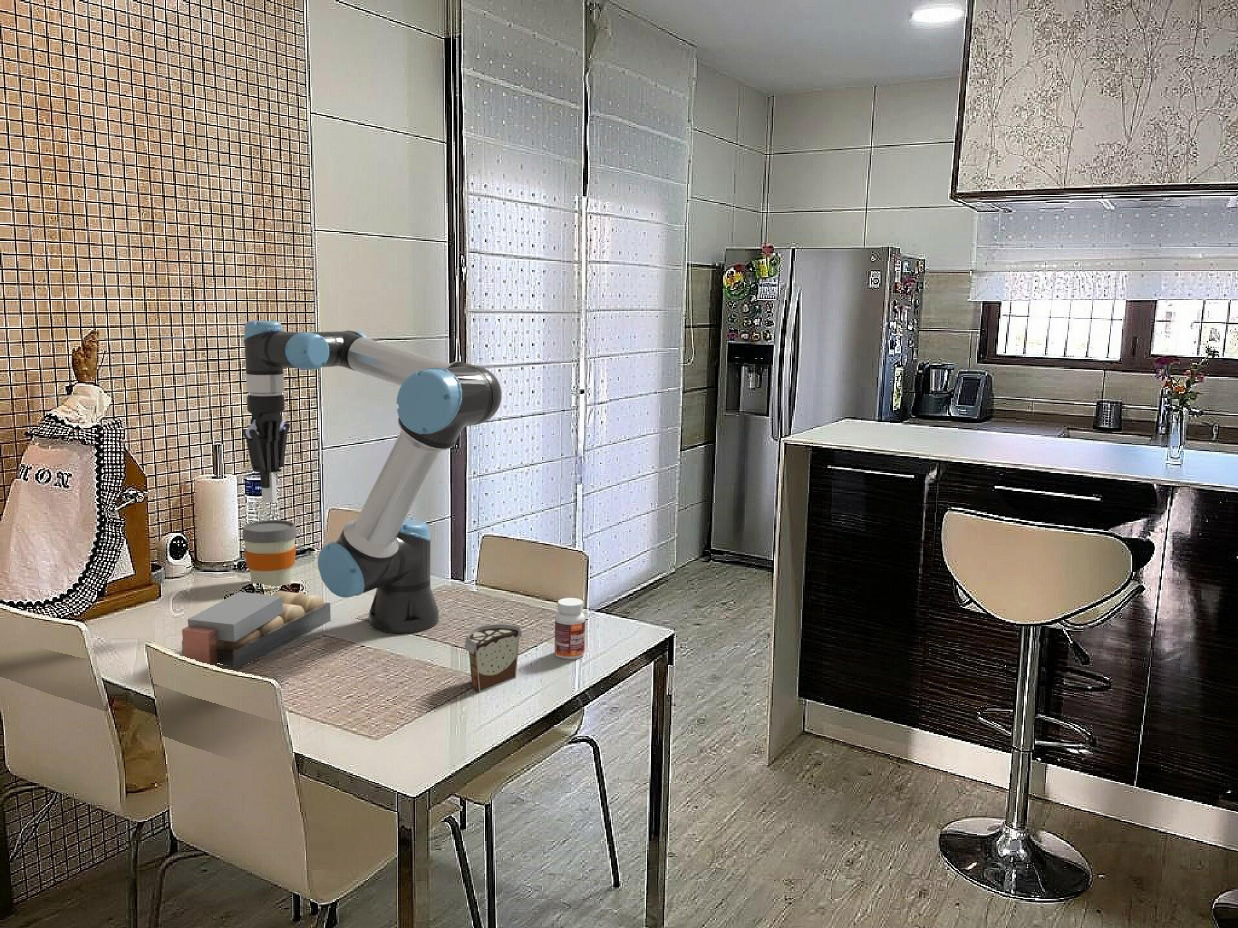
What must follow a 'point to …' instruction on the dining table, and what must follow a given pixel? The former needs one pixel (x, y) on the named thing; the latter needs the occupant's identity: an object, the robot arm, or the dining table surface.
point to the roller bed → (204, 648)
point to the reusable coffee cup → (270, 551)
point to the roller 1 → (231, 645)
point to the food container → (493, 655)
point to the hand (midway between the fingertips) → (269, 501)
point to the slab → (238, 615)
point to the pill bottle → (570, 629)
